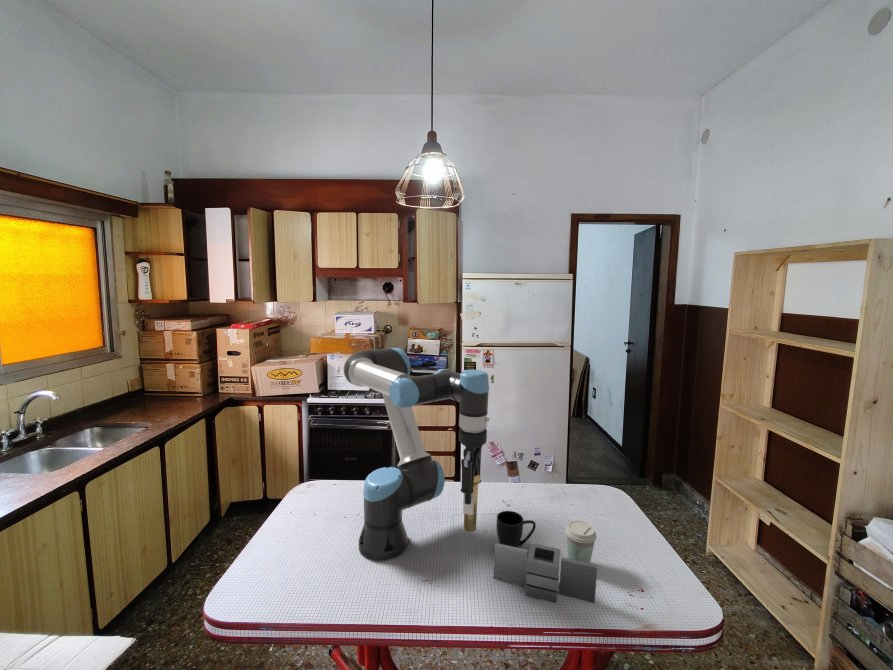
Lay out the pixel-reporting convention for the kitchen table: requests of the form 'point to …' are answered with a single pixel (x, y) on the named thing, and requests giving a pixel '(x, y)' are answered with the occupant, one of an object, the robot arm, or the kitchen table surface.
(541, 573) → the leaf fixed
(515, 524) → the mug
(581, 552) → the coffee cup
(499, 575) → the grey piece
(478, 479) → the pin
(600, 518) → the kitchen table surface
